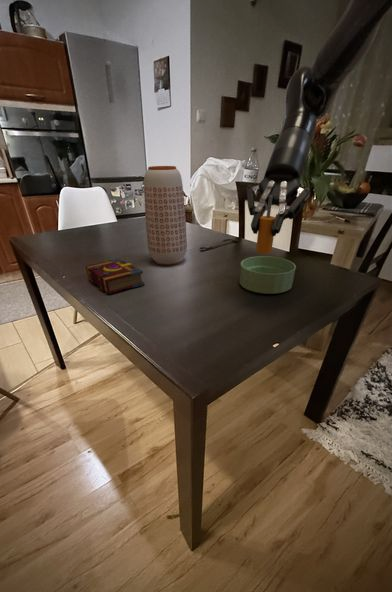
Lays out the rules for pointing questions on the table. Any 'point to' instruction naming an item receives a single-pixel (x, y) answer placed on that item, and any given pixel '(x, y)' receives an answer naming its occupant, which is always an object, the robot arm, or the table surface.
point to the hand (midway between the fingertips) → (263, 232)
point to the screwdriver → (265, 231)
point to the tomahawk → (220, 244)
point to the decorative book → (114, 275)
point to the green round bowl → (267, 274)
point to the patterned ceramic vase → (165, 215)
